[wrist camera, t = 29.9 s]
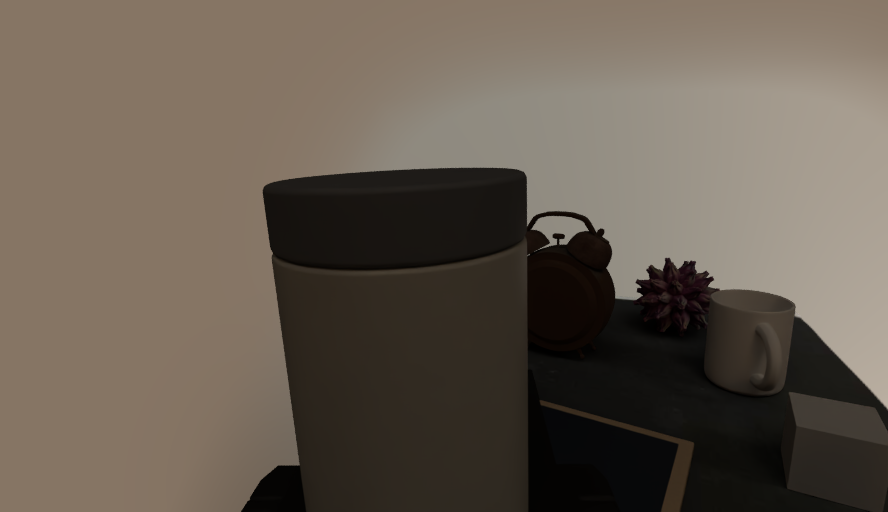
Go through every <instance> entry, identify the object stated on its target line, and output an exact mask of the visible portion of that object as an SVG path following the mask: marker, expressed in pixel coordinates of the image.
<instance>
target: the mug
mask: <svg viewBox="0 0 888 512" xmlns="http://www.w3.org/2000/svg"><path fill="white" fill-rule="evenodd" d="M794 315H795V304H794V303H793V302H792V301H790V300H788V299H786V298H783V297H781V296H777V295H773V294H770V293H765V292H759V291H752V290H721V291H717V292H714V293H712V294H711V296H710V306H709V316H708V327H707V337H706V348H705V359H704V372H705V374H706V376H707V378H708V379H709V380H710V381H711V382H712V383H714V384H715V385H717V386H718V387H720V388H722V389H725V390H727V391H730V392H733V393H737V394H741V395H747V396H756V397H763V396H771V395H774V394H776V393H778V392H780V391H781V390H782V388H783V386H784V383H785V378H786V372H787V364H788V357H789V350H790V343H791V336H792V329H793V322H794Z"/></svg>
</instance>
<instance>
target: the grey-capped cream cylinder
mask: <svg viewBox="0 0 888 512" xmlns="http://www.w3.org/2000/svg"><path fill="white" fill-rule="evenodd" d="M263 198H264V205H265V212H266V220H267V227H268V234H269V241H270V247H271V250H272V252H273V255H272V264H273V270H274V279H275V286H276V293H277V301H278V308H279V315H280V323H281V330H282V337H283V344H284V352H285V359H286V367H287V374H288V381H289V389H290V396H291V404H292V411H293V418H294V425H295V433H296V441H297V447H298V455H299V462H300V470H301V477H302V485H303V492H304V499H305V507H306V512H528V336H527V240H526V237H525V235H526V232H527V177H526V175H525V173H524V172H522V171H519V170H515V169H507V168H438V169H412V170H392V171H376V172H375V171H374V172H360V173H346V174H334V175H323V176H313V177H303V178H295V179H288V180H282V181H277V182H273V183H270V184H268V185H266V186H265V187H264V189H263Z"/></svg>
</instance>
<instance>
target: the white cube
mask: <svg viewBox="0 0 888 512" xmlns="http://www.w3.org/2000/svg"><path fill="white" fill-rule="evenodd" d="M781 454H782V460H783V466H784V472H785V478H786V485H787V489H790V490H793V491H797V492H801V493H804V494H808V495H812V496H815V497H819V498H823V499H826V500H830V501H834V502H837V503H841V504H845V505H848V506H852V507H856V508H859V509H863V510H867V511H870V512H882V511H883V507H884V502H885V497H886V492H887V487H888V432H887V430H886V428H885V426H884V424H883V422H882V420H881V418H880V416H879V415H878V413H877V411H876V409H875V408H873V407H867V406H862V405H857V404H851V403H846V402H841V401H835V400H830V399H824V398H819V397H814V396H808V395H803V394H798V393H792V392H789V394H788V401H787V408H786V415H785V422H784V429H783V436H782V443H781Z"/></svg>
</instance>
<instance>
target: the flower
mask: <svg viewBox="0 0 888 512" xmlns="http://www.w3.org/2000/svg"><path fill="white" fill-rule="evenodd" d="M688 263H689V264H688ZM695 263H696V262H695V261H690V262H687V261H684V264H683V265H682V267H681V268H679V269H677V268H676V267H675V265H674V264H673V263H672V262H671V260H670V258H665V266H664V268H663V271H661V270H658V269H656V268H654V266H653V265H650V266H649V269H647V270H646V271H647V272H648V273H649V278H650V279H649V280H638V279H637V281H636V283H637V284H639V285H640V286H641V288H637V292H638V293H641V294H642V295H643V296H641V297H640V298H639V299H637V300H634V301H633V302H634V305H642V306H644V307H645V308H644V309H643V310H641V311H640V314H641V315H644V314H646V316H645V317H644V318H643V320H644V322H646V321H648V320H650V319H656V323H657V327H656V330H657V331H659V332H664V331H665V330H666V329H667V328H668V327H669V326H670V325H671V324H672V322H673V325H674V327H675V328H676V330H677V331H678V333H679V336H681V337H683V336H684V331H685V332H686V330H687V325H688V323H689V324H690V325H692V326H694V327H695V328H696V329H697V330H699V329H700V326H702V327H703V328H705V329H706V327H707V326H708V324H707V323H706V321H705V318H704V315H705V314H709V306H710V296H711V294H712V293H714V292H717V291H720V290H719V289H714V288H710V287H708V285H709V284H710V282H712V281H713V280H714V278H713V277H709V278H706V277H707V276H708V275H709V273H708V272H707V271H705V272H703V273H698V274H696V273H697V271H696V270H695ZM699 325H700V326H699Z"/></svg>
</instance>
